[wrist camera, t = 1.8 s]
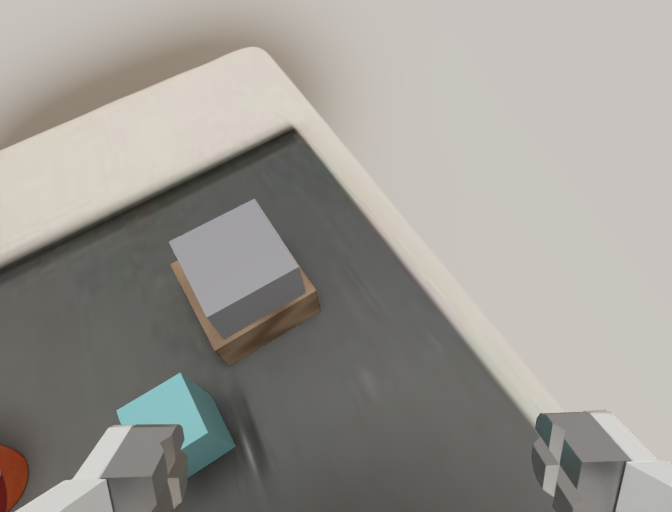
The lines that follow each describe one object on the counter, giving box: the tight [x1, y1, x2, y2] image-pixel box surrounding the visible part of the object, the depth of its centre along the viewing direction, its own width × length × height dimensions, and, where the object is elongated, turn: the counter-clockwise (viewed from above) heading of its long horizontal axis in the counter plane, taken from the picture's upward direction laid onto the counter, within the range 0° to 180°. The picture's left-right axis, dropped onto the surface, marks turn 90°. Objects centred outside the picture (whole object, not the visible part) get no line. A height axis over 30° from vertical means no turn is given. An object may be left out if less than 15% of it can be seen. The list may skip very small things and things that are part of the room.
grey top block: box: [169, 199, 306, 340], centre depth 38 cm, size 8×8×5 cm
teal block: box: [117, 373, 236, 478], centre depth 35 cm, size 5×5×8 cm
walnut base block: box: [170, 257, 320, 366], centre depth 43 cm, size 10×10×5 cm
